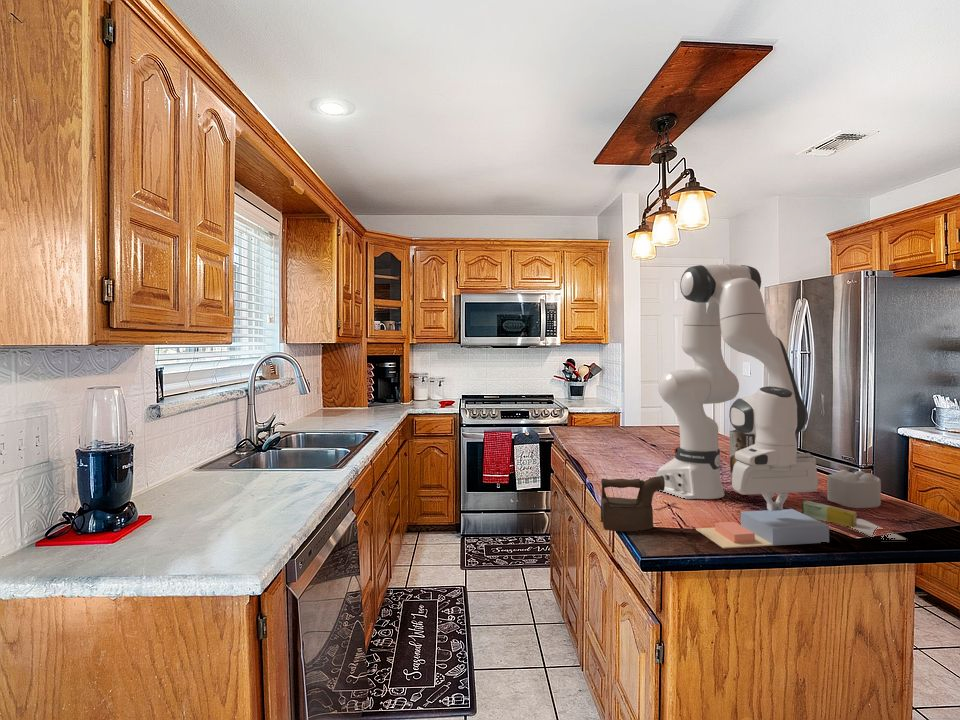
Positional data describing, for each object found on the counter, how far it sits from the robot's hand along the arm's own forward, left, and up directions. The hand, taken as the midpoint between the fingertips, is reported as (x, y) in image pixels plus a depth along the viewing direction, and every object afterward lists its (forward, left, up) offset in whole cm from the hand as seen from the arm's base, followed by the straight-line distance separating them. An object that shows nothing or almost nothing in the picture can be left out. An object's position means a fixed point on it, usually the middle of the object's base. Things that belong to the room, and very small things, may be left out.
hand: (774, 510), depth 122 cm
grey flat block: (+1, +1, -6) cm, 6 cm away
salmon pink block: (-6, -9, -4) cm, 12 cm away
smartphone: (+15, +20, -7) cm, 26 cm away
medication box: (+6, +20, -6) cm, 22 cm away
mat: (-6, -10, -6) cm, 13 cm away
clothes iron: (-27, -21, -6) cm, 35 cm away
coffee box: (-27, +51, -6) cm, 58 cm away
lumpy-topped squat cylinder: (+7, +44, -6) cm, 45 cm away
